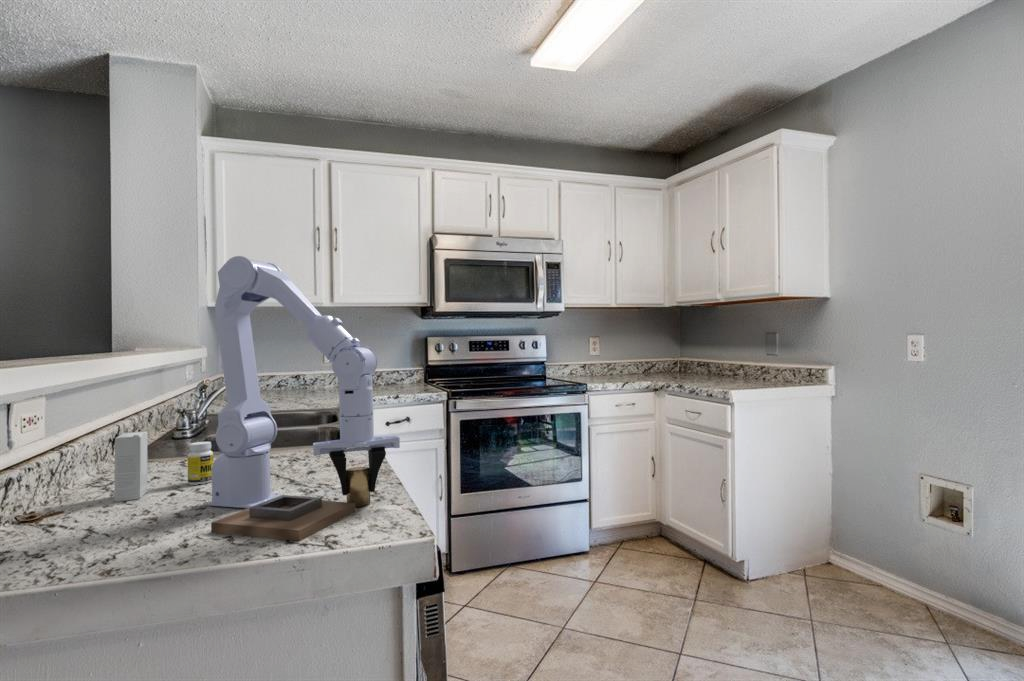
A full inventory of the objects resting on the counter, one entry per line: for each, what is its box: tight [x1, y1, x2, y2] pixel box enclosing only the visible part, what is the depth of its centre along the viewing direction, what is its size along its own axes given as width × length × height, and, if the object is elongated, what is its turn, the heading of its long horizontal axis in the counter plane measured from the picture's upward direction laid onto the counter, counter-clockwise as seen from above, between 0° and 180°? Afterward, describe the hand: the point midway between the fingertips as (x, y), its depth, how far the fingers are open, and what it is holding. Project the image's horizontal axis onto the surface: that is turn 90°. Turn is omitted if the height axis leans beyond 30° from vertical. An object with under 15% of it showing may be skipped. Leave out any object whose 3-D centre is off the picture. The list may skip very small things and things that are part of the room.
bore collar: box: [249, 494, 323, 521], centre depth 87 cm, size 8×8×2 cm
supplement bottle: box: [187, 441, 214, 486], centre depth 116 cm, size 5×5×8 cm
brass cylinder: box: [346, 466, 371, 508], centre depth 96 cm, size 4×4×6 cm
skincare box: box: [114, 431, 148, 502], centre depth 105 cm, size 6×4×12 cm
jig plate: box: [210, 498, 356, 542], centre depth 87 cm, size 16×14×2 cm
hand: (358, 492), depth 96 cm, fingers closed on brass cylinder, 4 cm apart
